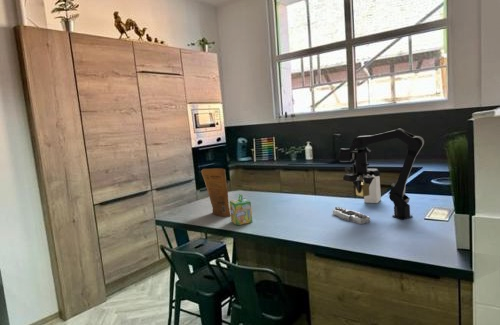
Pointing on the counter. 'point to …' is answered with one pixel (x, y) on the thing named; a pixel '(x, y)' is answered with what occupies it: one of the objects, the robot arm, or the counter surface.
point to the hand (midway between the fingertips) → (362, 192)
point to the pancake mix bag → (217, 190)
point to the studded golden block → (363, 189)
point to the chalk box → (241, 211)
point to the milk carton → (373, 190)
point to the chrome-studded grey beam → (354, 216)
